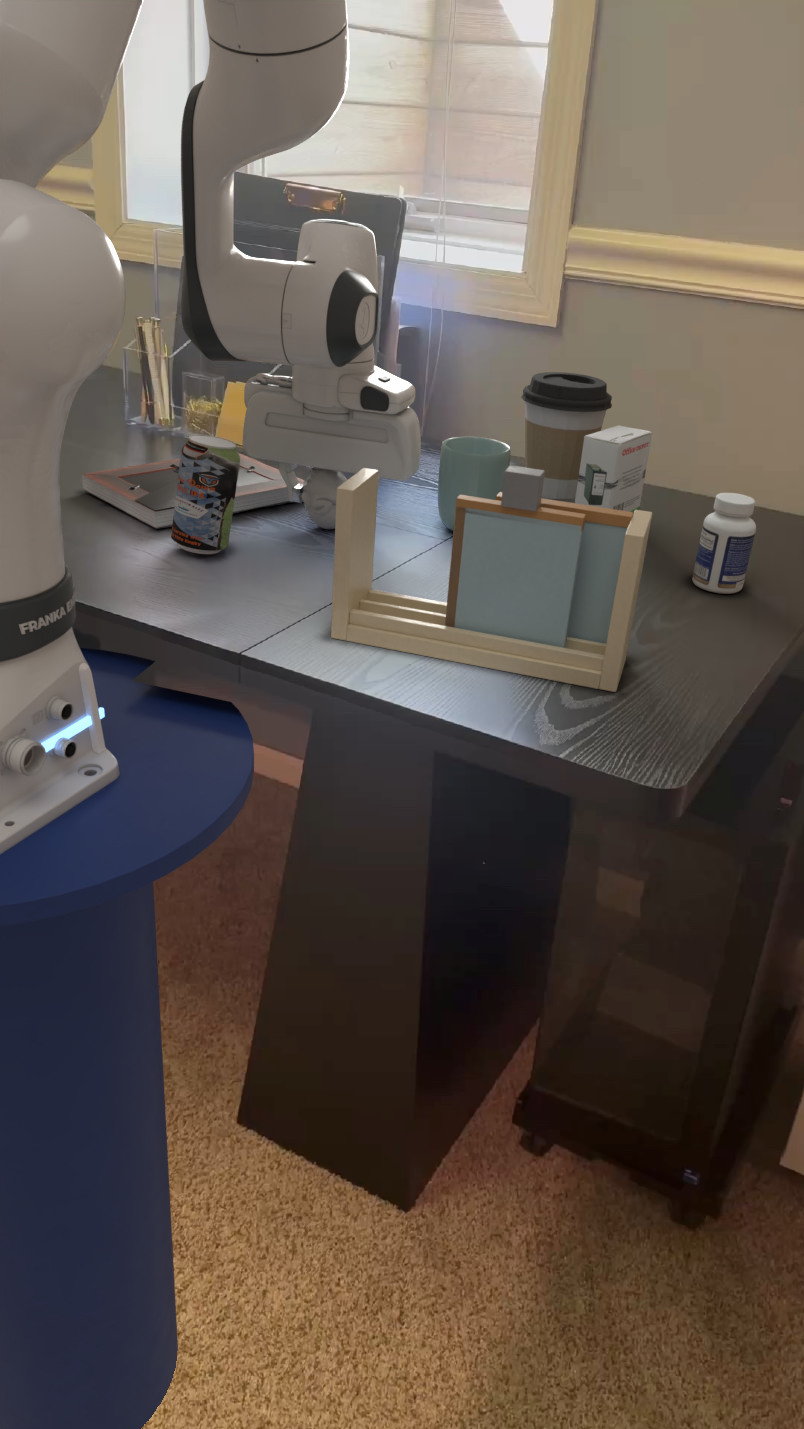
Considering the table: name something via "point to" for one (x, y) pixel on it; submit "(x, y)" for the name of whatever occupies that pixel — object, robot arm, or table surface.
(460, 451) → the cup
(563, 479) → the coffee cup
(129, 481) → the picture frame
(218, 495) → the beverage can
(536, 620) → the window pane
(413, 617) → the window frame
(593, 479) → the ink box
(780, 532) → the table surface
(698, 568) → the pill bottle
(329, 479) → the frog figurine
